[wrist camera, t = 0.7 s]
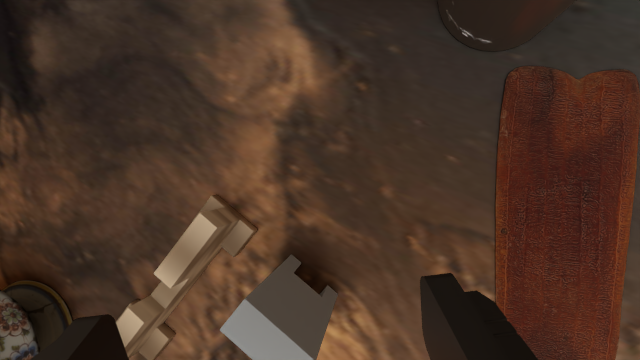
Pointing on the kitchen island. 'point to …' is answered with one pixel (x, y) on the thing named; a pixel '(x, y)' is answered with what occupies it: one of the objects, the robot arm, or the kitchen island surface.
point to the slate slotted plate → (281, 317)
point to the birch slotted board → (182, 275)
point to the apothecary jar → (30, 319)
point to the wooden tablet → (565, 208)
